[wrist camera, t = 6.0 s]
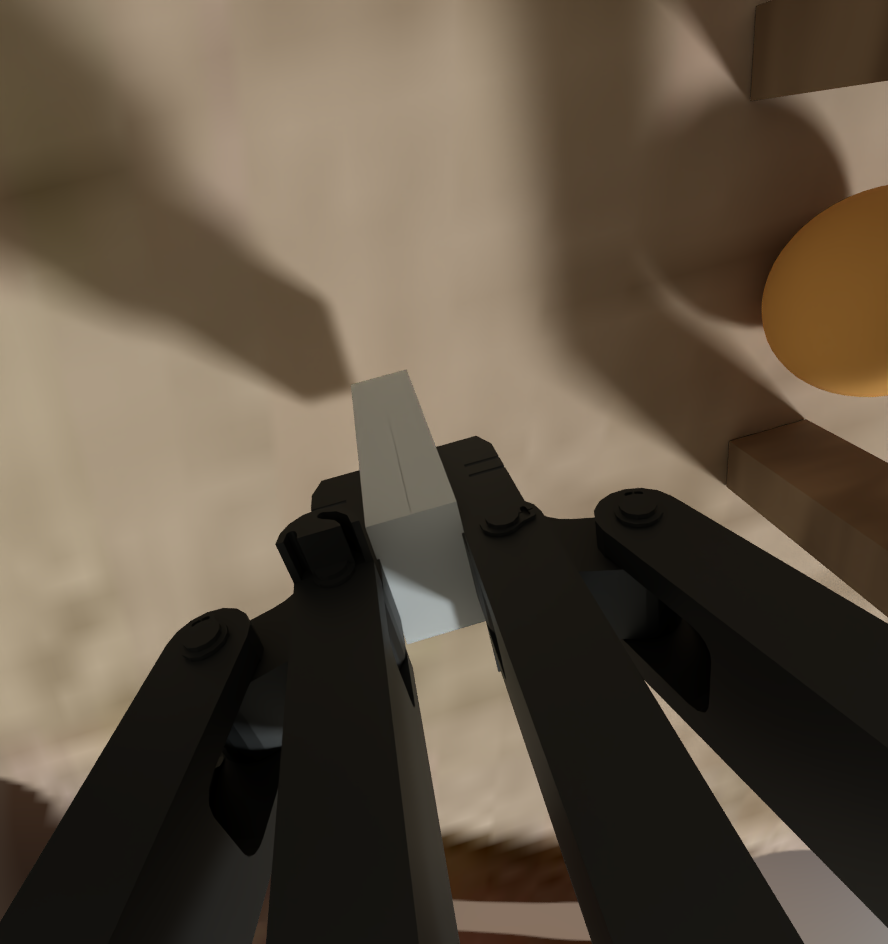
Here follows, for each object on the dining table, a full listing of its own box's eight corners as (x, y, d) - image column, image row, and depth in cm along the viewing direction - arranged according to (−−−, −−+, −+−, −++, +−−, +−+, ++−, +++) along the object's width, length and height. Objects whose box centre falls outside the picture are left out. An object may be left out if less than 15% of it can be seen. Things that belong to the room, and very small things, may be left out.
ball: (1038, 147, 14) (1087, 190, 10) (975, 353, 17) (996, 443, 13) (785, 181, 17) (754, 222, 13) (768, 350, 20) (739, 422, 16)
